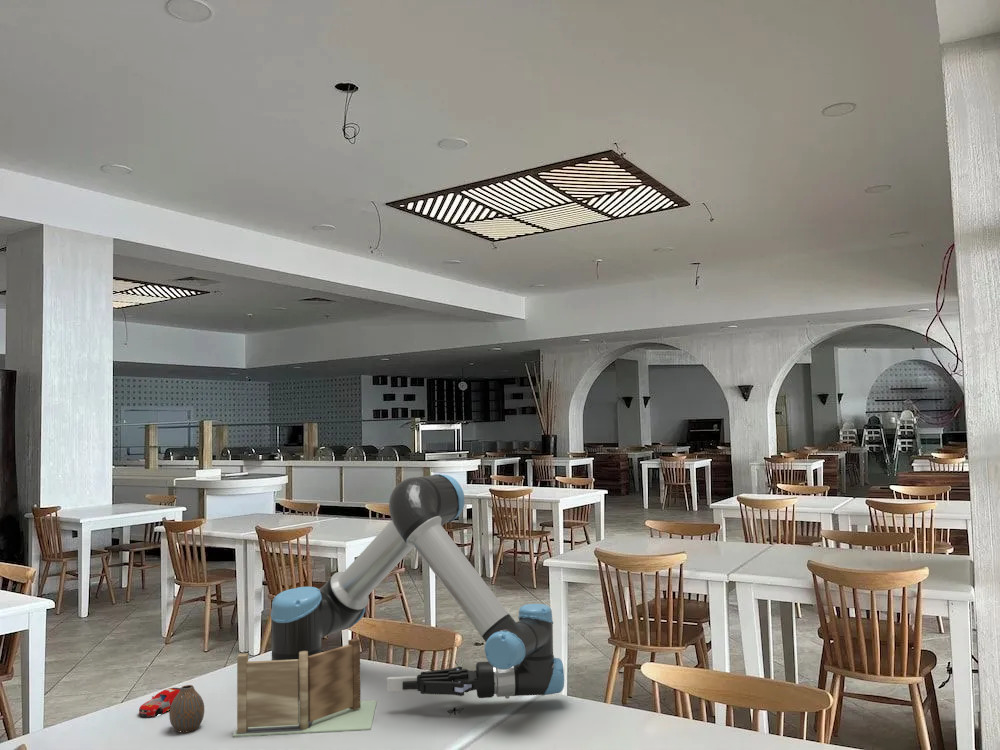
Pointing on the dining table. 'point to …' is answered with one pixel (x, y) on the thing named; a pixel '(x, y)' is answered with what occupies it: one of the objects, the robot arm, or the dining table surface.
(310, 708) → the walnut panel
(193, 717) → the vase
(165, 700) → the race car
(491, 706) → the dining table surface
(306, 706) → the birch fence section
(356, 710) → the card
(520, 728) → the dining table surface
